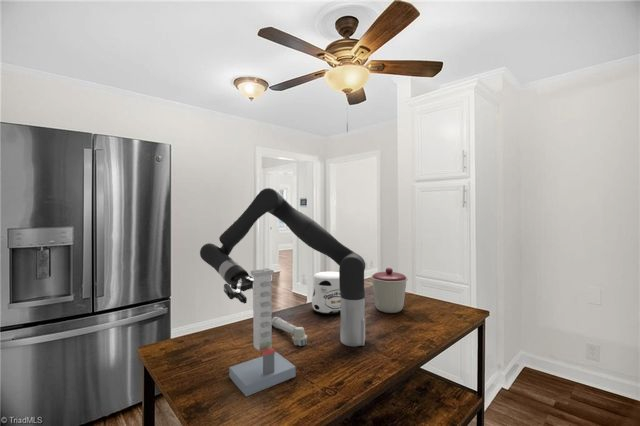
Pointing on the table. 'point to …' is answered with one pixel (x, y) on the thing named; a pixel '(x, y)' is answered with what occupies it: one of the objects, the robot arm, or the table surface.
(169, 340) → the table surface
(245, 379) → the stand base
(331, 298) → the milk container
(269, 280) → the column
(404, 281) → the canister
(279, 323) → the toothbrush head
